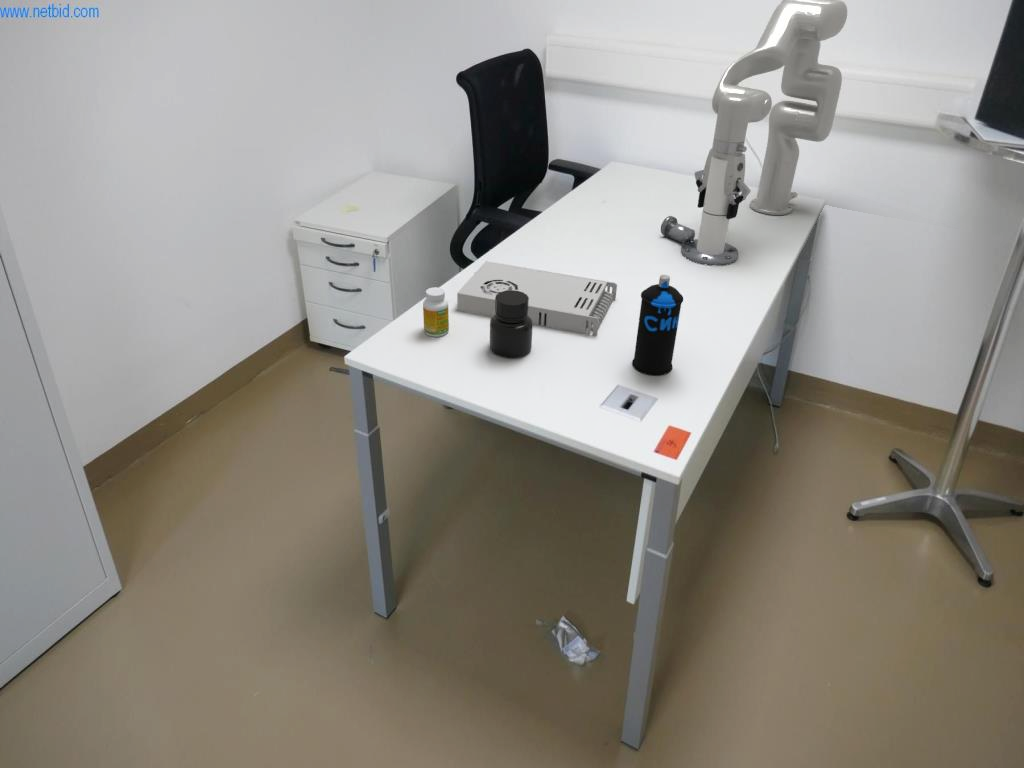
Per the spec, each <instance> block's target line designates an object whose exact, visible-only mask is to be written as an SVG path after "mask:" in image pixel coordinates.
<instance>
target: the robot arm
mask: <svg viewBox="0 0 1024 768" xmlns="http://www.w3.org/2000/svg"><path fill="white" fill-rule="evenodd" d="M847 19H848V6H847V4H846V3H845V2H844V1H842V0H781V2H780V3H779V4H778V5H777V6H776V8H775V9H774V11H773V12H772V15H771V17H770V19H769V21H768V23H767V25H765V29H764V31H763V33H762V35H761V37H760V39H759V41H758V42H757V45H756V46H755V48H754V49H752V50H750V51H749V52H747V53H745V54H744V55H742V56H741V57H739V58H738V59H736V60H735V61H734V62H732V64H730V65H729V66H728V67H727V68H726V70H725V71H724V73H723V74H722V75H721V78H720V80H719V82H718V84H717V86H716V88H715V91H714V93H713V97H712V100H711V109H712V110H713V112H714V114H716V115H717V117H716V121H715V123H716V124H715V129H714V134H713V141H712V147H711V148H710V149H709V151H708V154H707V157H706V160H705V164H704V169H702V170H698V171H695V172H694V177H695V184H696V186H697V191H698V200H697V202H698V203H697V208H703V206H704V200H705V194H706V188H707V182H708V176H709V170H710V164H711V158H712V156H714V157H717V158H720V159H723V160H726V161H728V163H727V168H726V173H725V181H724V194H725V195H728V197H729V199H730V202H731V204H729V205H728V211H727V216H726V218H727V219H730V220H732V219H735V218H736V217H737V215H738V210H739V207H740V204H742V202H743V201H745V200H746V199H747V197H748V195H749V194H750V193H751V189H750V187H749V186H747V184H746V183H745V182H744V181H745V175H746V154H745V153H746V151H747V146H745V142H746V141H745V140H746V135H747V131H748V125H749V124H750V123H757V122H760V121H763V120H764V119H765V118H766V117H767V116H768V115H769V117H768V137H767V143H766V149H765V154H764V159H763V164H762V168H761V172H760V173H761V174H760V179H759V184H758V189H757V194H756V198H754V199H751V200H750V202H749V207H750V208H751V209H752V210H753V211H755V212H758V213H760V214H765V215H770V216H771V215H772V216H785V215H788V214H791V213H792V211H793V205H792V204H791V203H790V201H791V200H793V199H796V198H797V197H798V193H797V192H796V191H792V188H793V184H794V180H795V179H794V178H795V176H796V175H795V174H796V170H797V167H798V166H797V165H798V161H799V159H800V158H799V157H800V147H799V145H798V142H797V140H796V139H799V140H805V141H811V142H816V143H820V142H824V141H825V140H826V139H828V137H829V136H830V133H831V130H832V127H833V124H834V119H835V116H836V110H837V106H838V102H839V98H840V92H841V89H842V88H841V87H842V82H843V77H842V72H841V70H840V69H839V68H838V67H836V66H832V65H827V64H821V63H819V62H818V61H819V56H820V50H821V42H823V41H826V40H828V39H831V38H833V37H835V36H837V35H838V34H839V33H840V32H841V31H842V29H843V28H844V27H845V25H846V22H847ZM781 68H783V71H782V75H781V84H780V88H781V89H780V90H781V93H782V94H783V95H785V96H787V97H790V98H794V99H801V100H804V101H805V100H807V101H811V102H816V105H815V104H810V103H807V102H806V103H805V102H800V101H795V100H781V101H779V102H777V103H775V104H774V105H772V104H773V101H772V97H771V95H770V94H769V92H767V91H765V90H761V89H757V88H750V87H747V86H740V85H739V83H741V82H742V81H744V80H746V79H749V78H752V77H754V76H759V75H763V74H766V73H769V72H773V71H776V70H779V69H781ZM731 176H732V177H731ZM733 190H734V191H733ZM791 191H792V192H791ZM740 193H741V194H740Z"/></svg>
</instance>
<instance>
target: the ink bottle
mask: <svg viewBox="0 0 1024 768" xmlns="http://www.w3.org/2000/svg"><path fill="white" fill-rule="evenodd" d="M528 303H529V297H528V296H527V294H525V293H523V292H520V291H514V290H509V291H503V292H499V293H498V294H497V295H496V297H495V315H494V316H493V317H492V316H491V318H490V321H489V349H490V351H491V352H492V353H493V354H494V355H496V356H499V357H502V358H508V359H509V358H510V359H512V358H513V359H516V358H521V357H524V356H526V355H528V354H529V353H530V352H531V350H532V343H533V342H532V341H533V324H532V320H531V318H530V317H529V316H528Z"/></svg>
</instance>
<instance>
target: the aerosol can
mask: <svg viewBox="0 0 1024 768" xmlns="http://www.w3.org/2000/svg"><path fill="white" fill-rule="evenodd" d="M670 280H671V277H670V276H669V275H667V274H661V275H660V276H659V280H658V281H659V282H658V283H657V284H652V285H650V286H648V287H647V288H645V289H644V290H643V291H642V292H641V293H640V297H641V303H640V310H639V317H638V327H637V332H636V333H637V334H636V339H635V350H634V354H633V355H634V357H633V359H632V362H631V364H632V366H633V368H634V369H635V370H636V371H637V372H640V373H641V374H645V375H648V376H664V375H666V374H668V373H670V372H671V371H672V369H673V357H674V351H675V345H676V341H677V340H676V339H677V333H678V326H679V320H680V313H681V308H682V303H684V302H683V301H684V296H683V295H682V294H681V293H680V291H679V290H677V288H675V287H674V286H671V285H670Z"/></svg>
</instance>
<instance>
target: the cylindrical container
mask: <svg viewBox="0 0 1024 768" xmlns="http://www.w3.org/2000/svg"><path fill="white" fill-rule="evenodd" d="M727 163H728V161H726V160H723V159H720V158H717V157H714V156H712V158H711V164H710V170H709V176H708V182H707V188H706V194H705V200H704V206H703V207H702V212H701V213H702V214H701V219H700V225H699V231H698V235H697V236H698V238H697V239H698V242H697V250H698V251H699V252H701V253H704V254H708V255H719V254H722V253H723V252H724V247H725V243H726V240H727V236H728V235H727V234H728V229H729V225H730V221H731V219H727V218H726V216H727V211H728V205H729V204H731V202H730V199H729V197H728V195H725V194H724V181H725V173H726V168H727ZM731 177H732V176H731ZM733 191H734V190H733Z"/></svg>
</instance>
